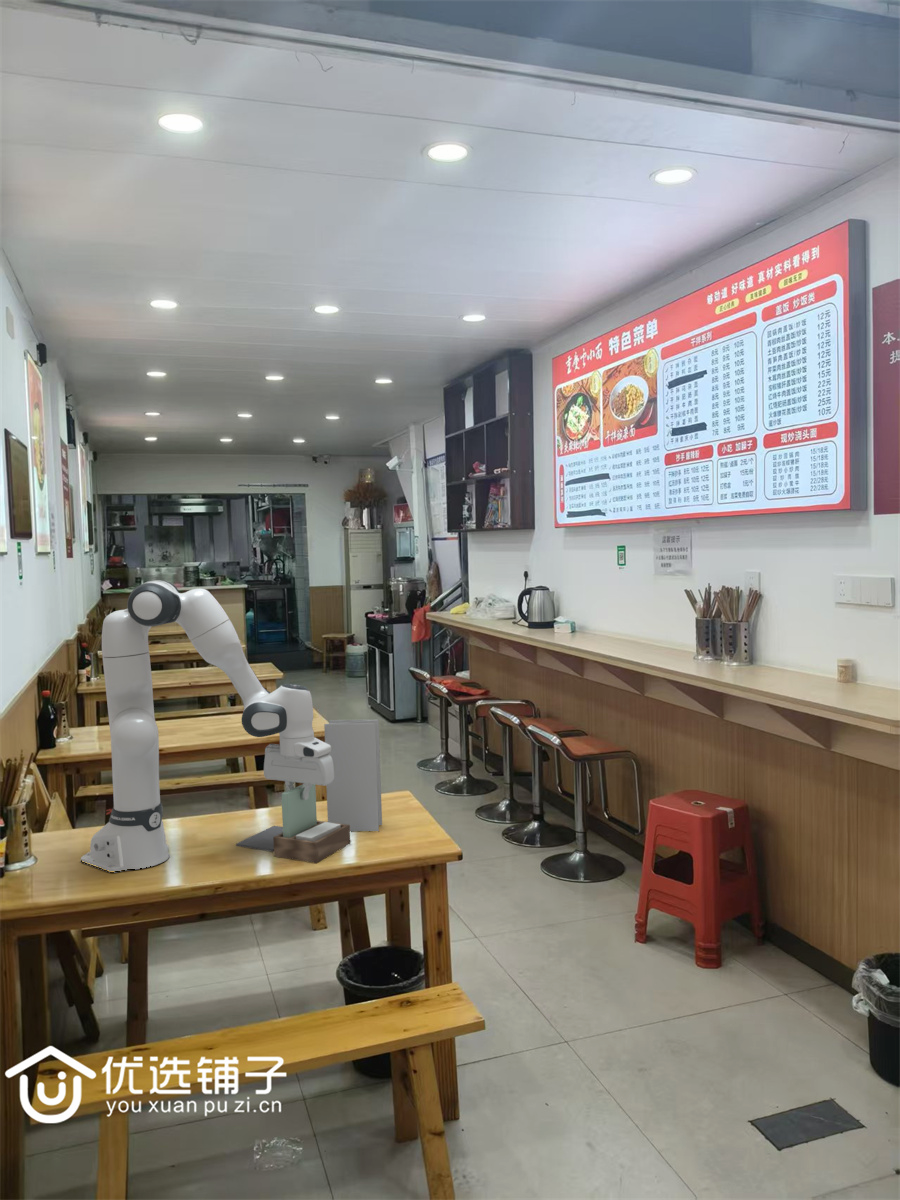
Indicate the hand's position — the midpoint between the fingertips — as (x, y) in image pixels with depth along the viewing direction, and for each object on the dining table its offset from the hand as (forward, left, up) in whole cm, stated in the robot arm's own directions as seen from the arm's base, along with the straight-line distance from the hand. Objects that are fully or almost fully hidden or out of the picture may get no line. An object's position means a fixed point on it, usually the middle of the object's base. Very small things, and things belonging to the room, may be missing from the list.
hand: (299, 798), depth 222 cm
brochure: (+5, +19, -13) cm, 24 cm away
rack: (+4, 0, -13) cm, 14 cm away
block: (0, 0, -13) cm, 13 cm away
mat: (-11, +3, -13) cm, 18 cm away
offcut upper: (+6, 0, -11) cm, 12 cm away
